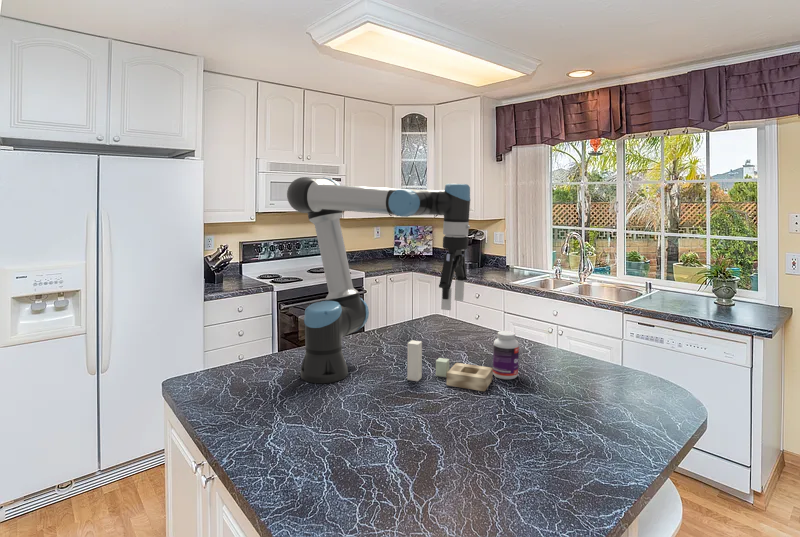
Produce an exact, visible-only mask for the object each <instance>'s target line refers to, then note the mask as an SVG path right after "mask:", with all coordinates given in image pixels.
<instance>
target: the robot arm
mask: <svg viewBox="0 0 800 537" xmlns="http://www.w3.org/2000/svg"><path fill="white" fill-rule="evenodd" d="M286 197H287V198H286V199H287V202H288V204H289V205H290V206H291V208H293V210H295V211H296V212H299V213H303V214H307V216H308V221H309V222H311V223H312V224H313V226H314V228H315V229H314V230H315V233H316V238H317V242H318V247H319V253H320V256H321V257H320V258H321V262H322V268H323V272H324V275H325V281H326V285H327V291H328V294H327V295H326V297H325V300H322V301H316V302H314V303H311V304H309V305H308V306H307V307H306V308H305V310H304V318H303V323H304V342H305V343H304V345H305V351H304V352H305V354H304V357H303V361H302V363H301V367H300V378H301V379H302V381H305V382H308V383H312V384H329V383H335V382H339V381H341V380H344V379H345V378H346V377H347V376H348V375H349V374H348V373H349V371H348V370H349V368H348V365H347V362H346V359H345V357H344V353H343V347H342V346H343V345H342V344H343V337H346V336H348V335H350V334H352V333H355V332H358V331H359V330H360V329H362V328H363V327H364V326H365V325H366V324H367V322H368V319H369V314H370V312H369V311H370V310H369V306H368V304H367V302H366V301H365V300H363V298H362V297H360V293H359V291H358V290H357V289H356V288H354V284H353V280H352V276H351V275H352V274H351V270H350V265H349V261H348V256H347V251H346V245H345V241H344V237H343V232H342V227H341V226H342V225H341V222H340V220H341V217H342V216H343V212H345V211H346V212H355V213H368V214H369V213H370V214H381V215H393V216H397V217H401V218H403V217H406V218H407V217H412V216H427V215H428V216H443V226H442V227H443V228H442V229H443V230H442V233H443V235H444V236H443V237H442V248H443V249H444V250H448V253H444V255H443V264H442V270H441V273H440V274H441V275H440V280H439V284H438V288H439V289H441V302H440V303H441V304H440V305H441V306H440V307H441V308H440V310H442V311H443V310H444V311H451V310H452V293H453V292H452V289H453V288H452V283H453V278H454V276H455V278H456V279H455V284H454V301H458V302H463V301H464V294H465V281H467V280H468V277H467V268H466V267H467V266H466V256H465V252H466V251H467V249H468V247H469V238H468V235H469V229H471V225H469V222H470V210H471V208H470V207H471V187H470V186H469V184H467V183H445V186H444V189H439V190H437V189H436V190H435V189H420V188H417V189H416V188H415V189H412V188H391V187H378V186H377V187H375V186H374V187H373V186H355V185H341V184H340V183H339V182H338V181H336V180H335V179H331V178H327V177H309V176H304V177H303V176H302V177H301V176H300V177H298V178H296V179H294V180H292V182H291V183H290V184H289V185H288V188H287V190H286Z"/></svg>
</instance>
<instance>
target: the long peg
mask: <svg viewBox="0 0 800 537" xmlns="http://www.w3.org/2000/svg"><path fill="white" fill-rule="evenodd" d="M422 358H423V341H421V340H409V342H407V361H406V362H407V364H406V365H407V368H406V369H407V375H406V376H407V377H406V378H407V379H406V380H407V381H413V382H419V381H420V380H421V379H422V377H423V373H422V372H423V371H422V370H423V364H422V363H423V359H422Z"/></svg>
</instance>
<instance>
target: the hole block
mask: <svg viewBox="0 0 800 537" xmlns="http://www.w3.org/2000/svg"><path fill="white" fill-rule="evenodd" d="M493 380H494V379H493V367H489V366H483V365H476V364H475V365H474V364H468V363H461V362H456V363H454V364H453V365H452V367H450V368H449V371H448V372H447V377H446V386H450V387H455V388H461V389H468V390H475V391H478V392H486V390H487V389H488V388H489V386H490V384H491V383H492V382H493Z"/></svg>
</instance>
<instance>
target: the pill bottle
mask: <svg viewBox="0 0 800 537" xmlns="http://www.w3.org/2000/svg"><path fill="white" fill-rule="evenodd" d="M492 350H493V353H492V354H493V355H492V368H493V375H494V377H495V378H497V379H500V380H514V379H516V378H517V377H518V375H519V356H520V343H519V340H517V339H516V333H515V332H513V331H510V330H500V331H498V332H497V338H496V339H494V341H493V348H492Z"/></svg>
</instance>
